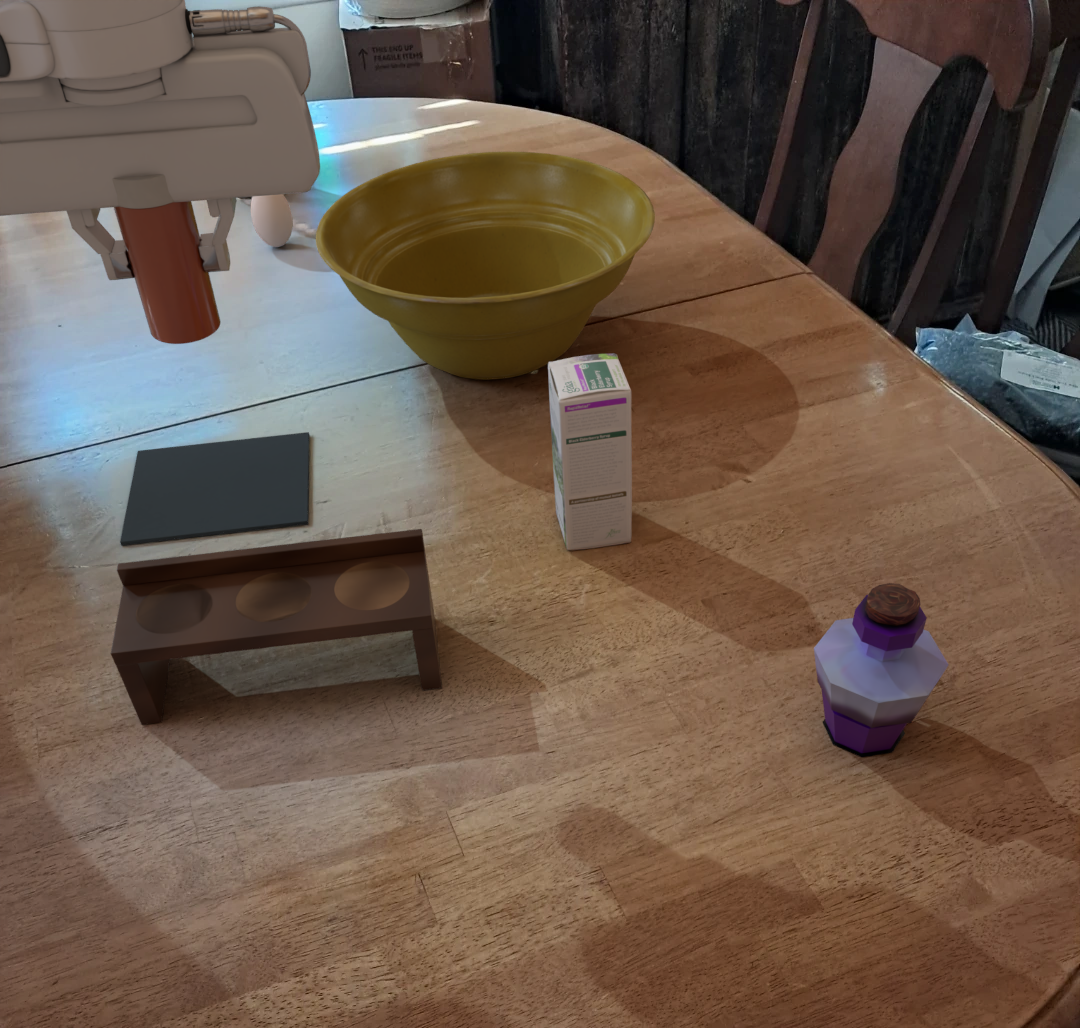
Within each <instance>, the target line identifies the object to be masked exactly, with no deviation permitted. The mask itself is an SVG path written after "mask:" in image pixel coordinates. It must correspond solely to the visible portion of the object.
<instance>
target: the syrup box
mask: <svg viewBox="0 0 1080 1028" xmlns="http://www.w3.org/2000/svg"><path fill="white" fill-rule="evenodd" d="M547 375H548V377H547V378H548V398H549V399H548V401H549V417H550V430H551V431H550V432H551V433H550V434H551V455H552V469H553V471H552V472H553V490H554V503H555V504H554V505H555V506H554V507H555V515H556V518H557V523H558V524H559V528H560V531H561V535H562V539H563V543H564V546H565V549H566V550H567V551H577V550H586V549H595V548H602V547H608V546H616V545H622V544H627V543H628V544H629V543H631V542H632V522H633V521H632V518H633V457H632V456H633V451H632V450H633V449H632V446H633V445H632V443H633V442H632V439H633V438H632V435H633V433H632V389H631V387H630V385H629V381H628V379H627V377H626V374H625V372H624V370H623V367H622V364H621V362H620V360H619V357H618V354H617V353H614V352H613V353H595V354H584V355H580V356H579V355H578V356H572V357H568V358H567V357H566V358H563V359H557V360H553V361H551V362H548V364H547Z"/></svg>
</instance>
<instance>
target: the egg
mask: <svg viewBox="0 0 1080 1028" xmlns="http://www.w3.org/2000/svg"><path fill="white" fill-rule="evenodd" d="M250 216H251V217H250V218H251V221H252V225H253V227H254V230H255V232H256V234H257V235H258V237H259V238H260V239H261V240H262V241H263V243H265V244H266V245H268V246H270V247H273V248H280V247H283V246H285V244H287V242H288V241H289V239H290V237H291V236H292V232H293V227H294V226H293V225H294V220H293V214H292V210H291V207H290V204H289V201H288V200H287V198H286V196H285V194H279V195H266V196H253V197H251V202H250Z"/></svg>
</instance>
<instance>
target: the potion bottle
mask: <svg viewBox="0 0 1080 1028" xmlns="http://www.w3.org/2000/svg"><path fill="white" fill-rule="evenodd" d="M920 598H921V597H920V596H919V595H918V594H917V592H916V591H915V590H912V589H910V588H907V587H906V586H904V585H902V584H901V583H895V582H893V583H892V582H889V583H883V584H879V585H877V586H874V587H873V588H871V590H870V591H869V593H868V594H866V595H865V596H864V597H863V599H862V600H861V601H860V602H859V603H858V605H857V606H856V608H855V609H854V613H853V617H849V618H842V619H836V620H835V621H833V623H832V624H831V626H830V627H829V629H827V631H826V632H825V633H824V634H823V636H822V637H821V638H820V640H819V641H818V642H817V643H816V644H815V646H814V647H813V653H814V662H815V671H816V679H817V684H818V686H819V687H820V689H821V696H822V705H823V713H824V719H823V721H822V724H823V726H824V729H825V731H826V733H827V735H828V737H829V740H830V741H831V744H832V745H833V746H835V747H837V748H840V749H841V750H845V751H847V752H849V753H850V754H853V755H856V756H858V757H860V758H866V757H873V756H880V755H886V754H893V753H894V751H895V749H896V748H897V746H898V745H899V743H900V742H901V740H902V739H903V738H904V736H905V734H906V732H905V731H904V729H905V727H906V726H907V724H912V723H913V721H914V719H915V718H916V716H917V715H918V713H919V712H920V710H921V709H922V707H923V705H924V704H925V702H926V701H927V700H928V698H929V696H930V695H931V694H932V692H933V690H934V689H935V687H936V686H937V684H938V683H939V681H940V679H941V678H942V676H943V674H944V673H945V672H946V670H947V668H948V667H949V666H950V665H949V663H948V661H947V659H946V658H945V656H944V655H943V652H942V651H941V650H940V647H939V645H938V644H937V643H936V641H935V639H934V638H933V636H932V634H931V633H930V630H926V629H925V626H926V622H927V618H928V617H927V616H926V614H925V612H924V611H923V609H922V608H921V604H922V603H921V599H920Z"/></svg>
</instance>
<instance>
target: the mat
mask: <svg viewBox="0 0 1080 1028" xmlns="http://www.w3.org/2000/svg"><path fill="white" fill-rule="evenodd" d="M309 497H310V433H309V431H305V432H296V433H288V434H278V435H269V436H259V437H250V438H242V439H233V440H222V441H214V442H206V443H205V442H204V443H196V444H187V445H178V446H167V447H160V448H150V449H141V450H137V453H136V457H135V463H134V468H133V473H132V477H131V483H130V488H129V494H128V499H127V504H126V509H125V515H124V519H123V525H122V530H121V536H120V540H119V543H120V545H121V546H129V545H130V546H131V545H139V544H147V543H157V542H164V541H165V542H166V541H175V540H181V539H182V540H184V539H190V538H191V539H192V538H201V537H207V536H208V537H209V536H218V535H226V534H227V535H228V534H235V533H244V532H245V533H246V532H252V531H254V532H255V531H262V530H270V529H271V530H272V529H280V528H288V527H297V526H306V525H309V511H310V509H309V505H310V499H309Z"/></svg>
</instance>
